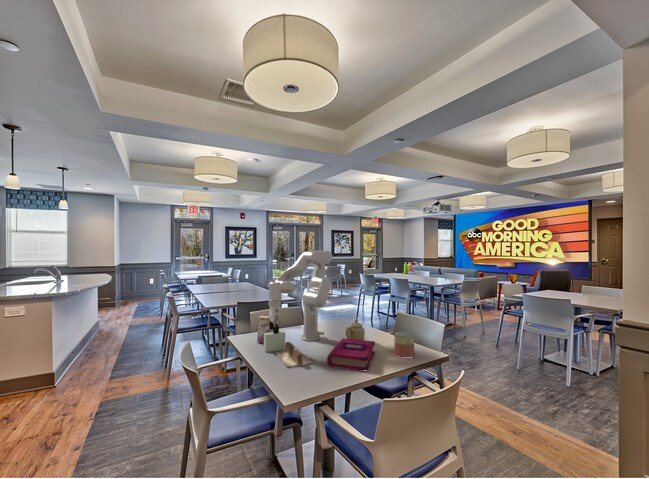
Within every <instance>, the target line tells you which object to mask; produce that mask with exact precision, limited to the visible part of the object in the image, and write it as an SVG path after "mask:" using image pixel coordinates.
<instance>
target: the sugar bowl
mask: <svg viewBox="0 0 649 479" xmlns="http://www.w3.org/2000/svg"><path fill="white" fill-rule="evenodd" d="M358 320H359V319H357V318H355V319H354V322H352V323H351V324H349V327H347V328H346V330H345V337H346V339H354V340H363V341H365V336H366V333H365V330H366V329H365V327H363V326H364V325H363V324H361V323H359V322H358Z"/></svg>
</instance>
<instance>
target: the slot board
mask: <svg viewBox="0 0 649 479" xmlns="http://www.w3.org/2000/svg"><path fill="white" fill-rule="evenodd" d="M275 355H277V357H278V358H279V360H280V361H281V362H282V363H283V365H285V367H286V369H288V368H294V367H301V366H308V365H313V363H314V362H313V361H312V360H311V359H310V358H309V357H308V356H306V354H305V353H303V351H302V350H300V349H299V348H297V349H295V346H294V344H293V343H292V342H291V341H287V342H286V341H285V350H280V351H275Z"/></svg>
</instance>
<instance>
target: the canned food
mask: <svg viewBox="0 0 649 479" xmlns="http://www.w3.org/2000/svg"><path fill="white" fill-rule="evenodd" d="M393 334H394V338H393V339H394V340H393V342H394V350H393V352H394V353H393V354H395V355H397V356H400V357H412V356H414V357H415V334H414V333H412V332H410V331H405V330H402V331H395V332H394V333H393ZM395 355H394V356H395ZM397 356H396V357H397ZM400 357H399V358H400Z"/></svg>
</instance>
